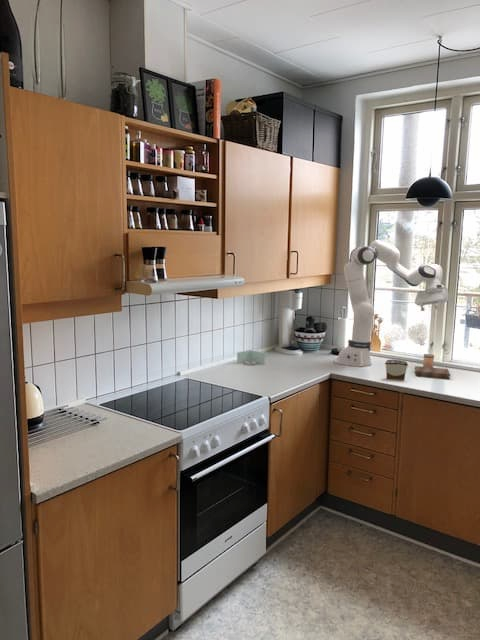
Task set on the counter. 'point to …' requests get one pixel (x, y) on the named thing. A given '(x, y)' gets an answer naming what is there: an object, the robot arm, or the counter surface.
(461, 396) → the counter surface
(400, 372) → the food container
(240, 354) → the l-shaped corner panel
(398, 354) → the counter surface
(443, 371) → the walnut stand
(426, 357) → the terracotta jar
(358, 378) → the counter surface
